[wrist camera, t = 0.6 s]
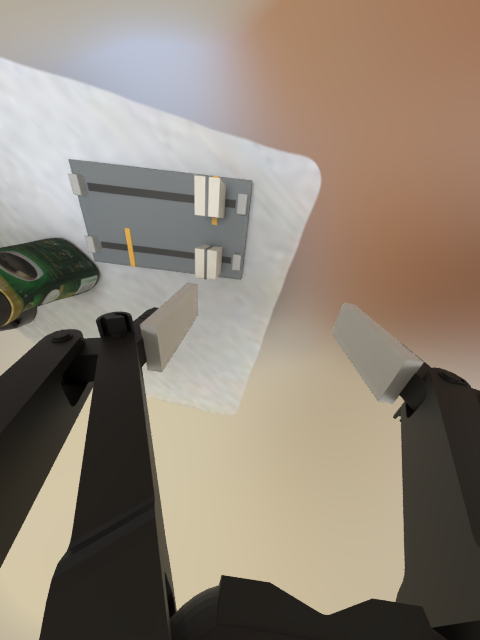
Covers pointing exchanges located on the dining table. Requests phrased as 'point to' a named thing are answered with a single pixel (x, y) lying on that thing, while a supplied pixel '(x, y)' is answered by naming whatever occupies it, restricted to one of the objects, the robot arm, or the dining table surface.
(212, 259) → the fader
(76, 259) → the coffee jar
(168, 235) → the console
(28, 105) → the dining table surface
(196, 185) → the fader
